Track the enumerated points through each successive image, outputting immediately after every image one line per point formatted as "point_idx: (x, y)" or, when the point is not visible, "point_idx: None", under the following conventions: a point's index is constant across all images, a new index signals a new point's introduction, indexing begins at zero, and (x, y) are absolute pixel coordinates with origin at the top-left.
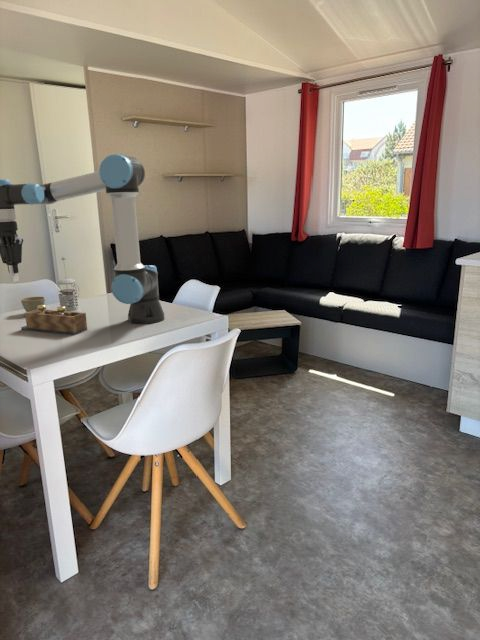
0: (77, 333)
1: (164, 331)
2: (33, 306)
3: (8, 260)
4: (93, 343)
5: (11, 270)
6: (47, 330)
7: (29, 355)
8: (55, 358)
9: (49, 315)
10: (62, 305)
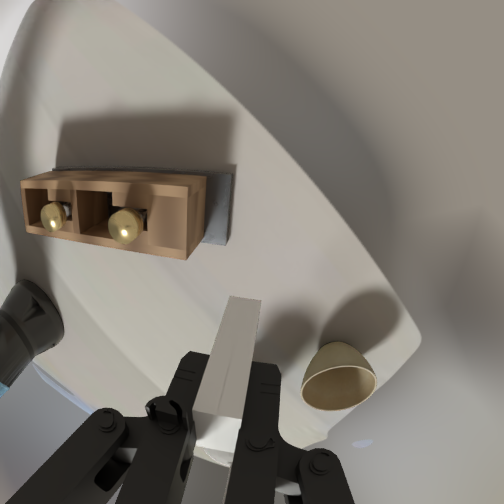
0: None
1: None
2: (321, 357)
3: (229, 478)
4: (7, 136)
5: (213, 366)
6: (120, 167)
7: (60, 21)
8: (21, 42)
9: (79, 180)
10: None
